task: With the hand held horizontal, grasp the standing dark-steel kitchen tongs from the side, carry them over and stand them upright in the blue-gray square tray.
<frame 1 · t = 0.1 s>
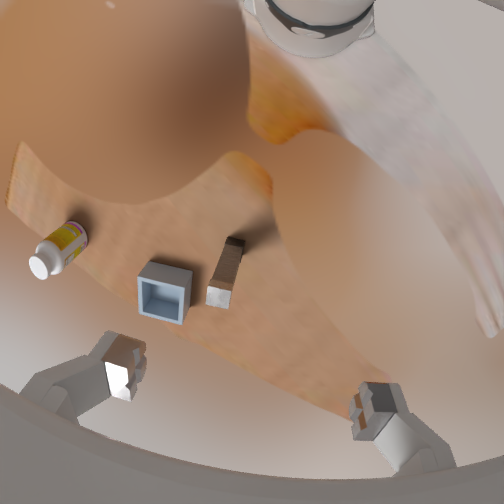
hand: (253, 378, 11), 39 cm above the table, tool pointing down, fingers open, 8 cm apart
supplement bottle: (76, 235, 55), on the table
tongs: (234, 246, 52), on the table
blue-gray square tray: (169, 285, 58), on the table
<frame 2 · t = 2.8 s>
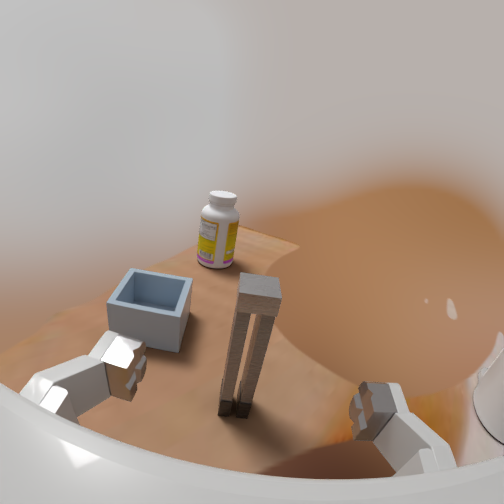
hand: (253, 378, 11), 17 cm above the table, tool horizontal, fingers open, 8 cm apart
supplement bottle: (213, 262, 58), on the table
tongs: (233, 405, 29), on the table
blue-gray square tray: (152, 324, 38), on the table
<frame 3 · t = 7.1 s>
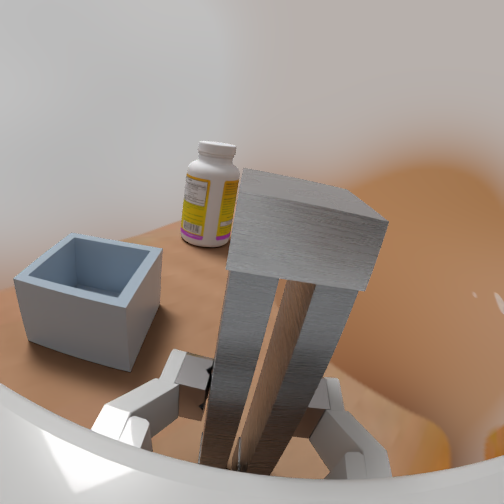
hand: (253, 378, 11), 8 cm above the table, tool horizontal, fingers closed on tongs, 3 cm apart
supplement bottle: (203, 240, 42), on the table
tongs: (224, 479, 13), on the table, touching gripper
blue-gray square tray: (96, 321, 22), on the table
when the fingers open (9 cm above the table, at t = 11.4 s): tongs drops 1 cm, resting on blue-gray square tray.
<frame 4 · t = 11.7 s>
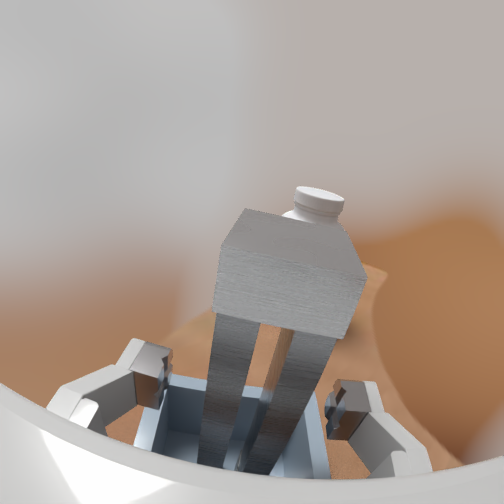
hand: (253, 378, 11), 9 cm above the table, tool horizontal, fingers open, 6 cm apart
supplement bottle: (289, 310, 33), on the table
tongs: (223, 487, 13), point 1 cm above the table, touching blue-gray square tray
blue-gray square tray: (221, 491, 13), on the table
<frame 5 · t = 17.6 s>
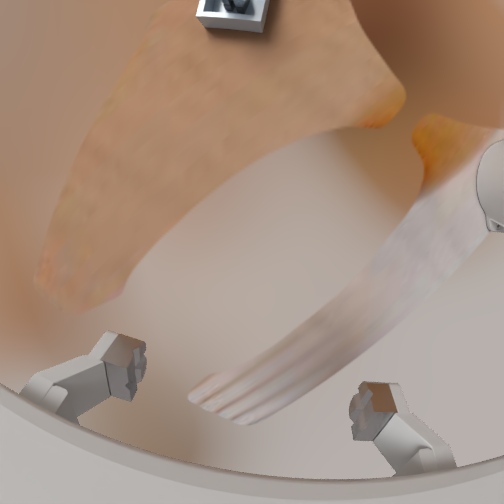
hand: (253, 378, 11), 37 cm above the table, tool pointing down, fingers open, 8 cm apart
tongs: (238, 4, 34), point 1 cm above the table, touching blue-gray square tray
blue-gray square tray: (238, 5, 34), on the table
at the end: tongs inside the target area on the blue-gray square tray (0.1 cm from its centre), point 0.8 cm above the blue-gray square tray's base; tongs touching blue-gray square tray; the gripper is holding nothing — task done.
